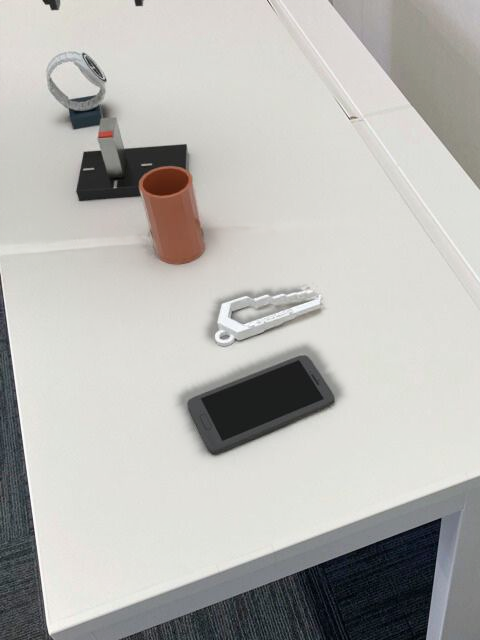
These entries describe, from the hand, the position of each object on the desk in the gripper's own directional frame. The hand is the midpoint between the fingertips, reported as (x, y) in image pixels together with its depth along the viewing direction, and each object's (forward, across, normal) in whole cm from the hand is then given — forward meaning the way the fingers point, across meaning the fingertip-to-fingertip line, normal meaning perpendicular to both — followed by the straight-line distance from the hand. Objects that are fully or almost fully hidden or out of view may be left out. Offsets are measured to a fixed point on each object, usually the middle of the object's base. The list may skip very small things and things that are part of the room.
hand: (98, 5), depth 80 cm
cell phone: (+27, -13, +33) cm, 45 cm away
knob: (+24, +3, -7) cm, 26 cm away
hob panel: (+27, +1, -7) cm, 28 cm away
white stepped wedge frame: (+27, -14, +20) cm, 37 cm away
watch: (+28, +9, -23) cm, 37 cm away
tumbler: (+27, -5, +7) cm, 29 cm away
